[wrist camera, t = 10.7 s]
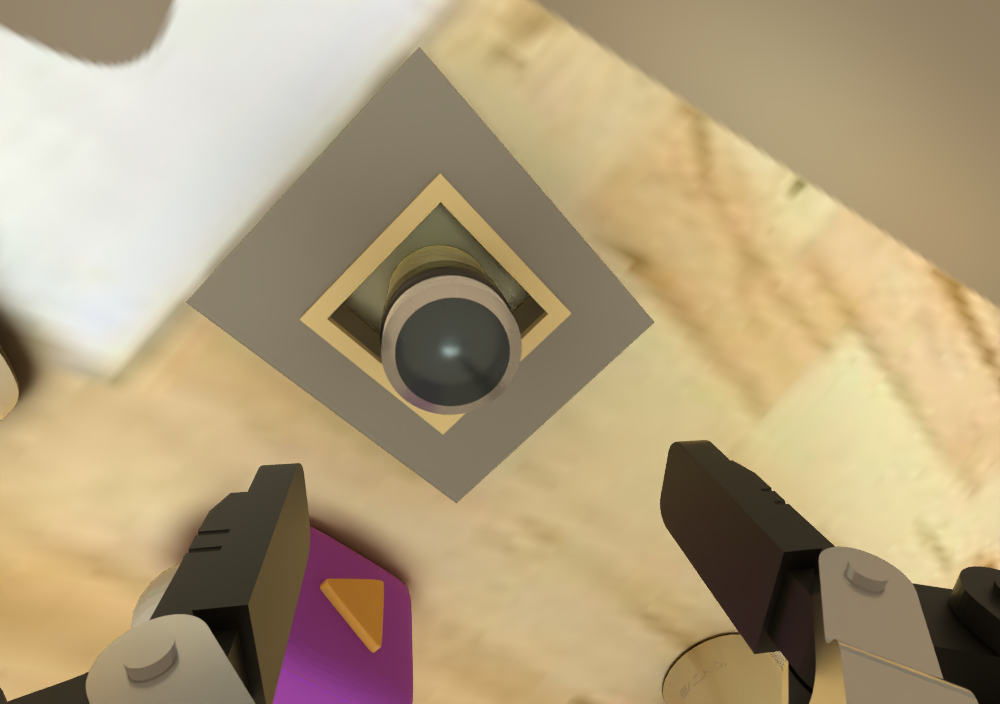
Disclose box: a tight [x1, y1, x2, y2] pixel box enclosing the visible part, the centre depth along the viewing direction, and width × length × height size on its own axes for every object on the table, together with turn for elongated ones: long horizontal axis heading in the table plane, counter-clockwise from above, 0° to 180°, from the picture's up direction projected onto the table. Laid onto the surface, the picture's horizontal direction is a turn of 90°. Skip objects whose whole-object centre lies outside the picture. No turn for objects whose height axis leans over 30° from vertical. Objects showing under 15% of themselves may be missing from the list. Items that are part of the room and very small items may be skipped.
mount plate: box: [186, 47, 654, 503], centre depth 25 cm, size 16×14×4 cm
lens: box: [380, 245, 522, 415], centre depth 23 cm, size 5×5×8 cm
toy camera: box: [131, 526, 413, 704], centre depth 27 cm, size 11×14×10 cm
